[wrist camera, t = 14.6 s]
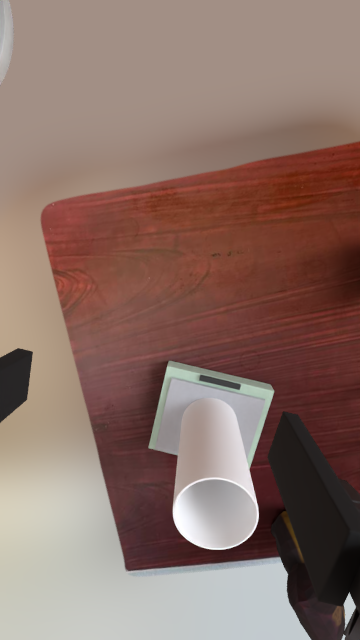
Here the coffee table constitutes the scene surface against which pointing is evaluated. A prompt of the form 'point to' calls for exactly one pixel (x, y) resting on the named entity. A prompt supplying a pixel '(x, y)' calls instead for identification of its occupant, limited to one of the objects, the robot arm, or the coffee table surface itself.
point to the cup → (213, 478)
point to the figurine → (305, 588)
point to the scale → (199, 383)
